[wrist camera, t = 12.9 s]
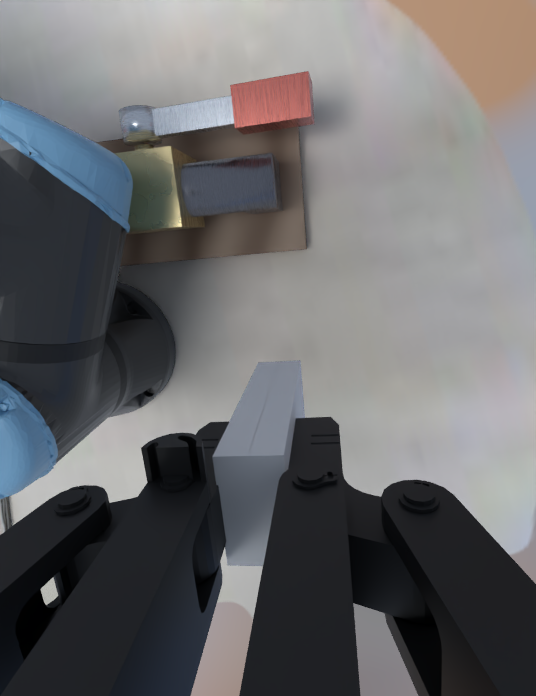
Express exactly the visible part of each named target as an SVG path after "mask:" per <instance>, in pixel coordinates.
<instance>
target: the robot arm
mask: <svg viewBox="0 0 536 696" xmlns="http://www.w3.org/2000/svg"><path fill="white" fill-rule="evenodd" d="M132 190H133V180H132V176H131V173H130V171H129V169H128V167H127V166H126V164H125V163H124V162H123V161H122V160H121V159H120V158H119V157H118V156H117V155H115V154H114V153H112V152H111V151H109V150H107V149H106V148H104V147H102V146H101V145H99V144H97V143H95V142H93V141H91V140H90V139H88V138H86V137H84V136H82V135H80V134H78V133H76V132H74V131H72V130H70V129H68V128H66V127H64V126H62V125H60V124H58V123H56V122H54V121H52V120H50V119H48V118H46V117H44V116H42V115H40V114H37V113H35V112H33V111H31V110H29V109H27V108H24V107H22V106H20V105H18V104H15V103H13V102H11V101H5V100H3V99H2V98H0V499H3V498H5V497H9V496H11V495H13V494H16V493H18V492H19V491H21V490H23V489H24V488H25V487H27V486H28V485H30V484H31V483H33V482H34V481H35V480H37V479H38V478H41V477H43V476H45V475H46V474H48V473H49V472H50V471H51V469H53V466H54V465H56V463H57V462H58V461H59V460H60V459H61V458H62V457H64V456H65V455H66V454H67V453H68V452H69V451H70V450H72V449H73V448H74V447H75V446H76V445H77V444H78V443H79V442H81V441H82V440H83V439H84V438H85V437H86V436H87V435H89V434H90V433H91V432H92V431H93V430H94V429H95V428H96V427H98V426H99V425H100V424H101V423H102V422H103V421H104V420H105V419H107V418H108V417H113V416H117V415H121V414H125V413H129V412H132V411H135V410H137V409H139V408H141V407H143V406H144V405H146V404H147V403H149V402H150V401H151V400H152V399H153V398H154V397H155V396H156V395H157V394H158V393H159V392H160V391H161V390H162V389H163V388H164V387H165V385H166V384H167V382H168V380H169V378H170V376H171V374H172V371H173V367H174V362H175V343H174V338H173V334H172V331H171V328H170V326H169V324H168V322H167V320H166V318H165V316H164V315H163V313H162V312H161V310H160V309H159V308H158V307H157V306H156V304H155V303H154V302H153V301H152V300H150V299H149V298H148V297H147V296H146V295H144V294H143V293H141V292H140V291H138V290H137V289H135V288H133V287H130V286H128V285H125V284H122V283H119V282H117V279H118V274H119V269H120V264H121V259H122V254H123V249H124V244H125V239H126V234H127V233H129V231H130V225H129V224H128V218H129V211H130V204H131V197H132ZM141 450H142V455H143V460H144V466H145V471H146V476H147V482H148V483H147V484H146V486H145V487H144V489H143V490H142V491H141V493H140V494H139V496H138V497H136V498H132V499H127V500H122V501H117V502H112V503H109V500H108V495H107V493H106V491H105V489H104V488H101V487H99V486H86V485H84V486H79V487H78V486H77V487H73V488H70V489H69V490H67V491H64V492H61V493H59V494H58V495H56V496H54V497H53V498H51V499H49V500H48V501H46V502H45V503H44V504H42V505H41V506H40V507H38V508H37V509H35V510H34V511H33V512H31V513H30V514H29V515H27V516H26V517H24V518H23V519H22V520H20V521H19V522H17V523H16V524H15V525H13V526H12V527H11V528H9V529H8V530H6V531H5V532H4V533H2V534H1V535H0V696H190V695H191V691H192V688H193V684H194V681H195V677H196V674H197V670H198V666H199V663H200V660H201V656H202V653H203V649H204V646H205V642H206V639H207V635H208V632H209V628H210V624H211V621H212V617H213V614H214V610H215V607H216V603H217V600H218V596H219V593H220V589H221V586H222V570H221V563H220V560H221V557H222V554H223V550H224V547H225V549H226V557H227V564H228V565H238V566H263V570H262V575H261V581H260V586H259V592H258V597H257V602H256V608H255V613H254V619H253V624H252V630H251V635H250V641H249V647H248V652H247V657H246V663H245V668H244V673H243V679H242V684H241V690H240V695H239V696H360V686H359V674H358V673H359V672H358V659H357V646H356V633H355V620H354V607H353V603H355V604H358V605H362V606H364V607H368V608H371V609H374V610H377V611H380V612H383V613H385V617H386V622H387V625H388V627H389V629H390V631H391V634H392V636H393V638H394V641H395V643H396V645H397V647H398V650H399V652H400V654H401V657H402V659H403V661H404V663H405V666H406V668H407V670H408V672H409V675H410V677H411V679H412V682H413V684H414V686H415V688H416V691H417V693H418V695H419V696H536V584H535V583H534V582H533V581H532V580H531V578H530V577H529V576H528V575H527V574H526V573H525V572H524V571H523V570H522V569H521V568H520V567H519V565H518V564H517V563H516V562H515V561H514V560H513V559H512V558H511V557H510V556H509V555H508V553H507V552H506V551H505V550H504V549H503V548H502V547H501V546H500V545H499V544H498V543H497V542H496V540H495V539H494V538H493V537H492V536H491V535H490V534H489V533H488V532H487V531H486V530H485V528H484V527H483V526H482V525H481V524H480V523H479V522H478V521H477V520H476V519H475V518H474V517H473V515H472V514H471V513H470V512H469V511H468V510H467V509H466V508H465V507H464V506H463V505H462V503H461V502H460V501H459V500H458V499H457V498H456V497H455V496H454V495H453V494H452V493H450V492H449V491H448V490H446V489H445V488H444V487H441V486H439V485H436V484H434V483H431V482H427V481H421V480H403V481H400V482H396V483H393V484H391V485H390V486H388V487H387V488H386V489H384V491H383V494H382V496H381V497H379V496H374V495H370V494H366V493H363V492H361V491H358V490H356V489H354V488H353V487H352V486H350V485H349V484H348V483H347V482H346V481H345V479H344V476H343V471H342V459H341V446H340V434H339V425H338V424H337V423H336V422H335V421H334V420H333V419H332V418H331V417H316V418H305V414H304V401H303V388H302V375H301V362H300V360H299V361H280V362H261V363H258V365H257V367H256V369H255V371H254V373H253V375H252V377H251V379H250V381H249V383H248V385H247V387H246V389H245V391H244V393H243V395H242V397H241V399H240V401H239V403H238V405H237V407H236V410H235V412H234V414H233V416H232V418H231V420H230V422H210V423H209V424H207V425H206V426H204V427H203V428H201V429H200V430H199V431H198V432H197V434H196V435H194V434H191V433H175V434H169V435H165V436H161V437H158V438H156V439H154V440H152V441H150V442H148V443H147V444H145V445H144V446H143V447H142V448H141ZM52 577H54V581H55V584H56V588H57V592H58V597H57V598H56V599H55V600H54V601H52V602H51V603H49V604H48V605H45V603H44V601H43V597H42V594H41V590H40V589H41V588H42V587H43V586H44V585H45V584H46V583H47V582H48V581H49V580H50V579H51V578H52Z"/></svg>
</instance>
